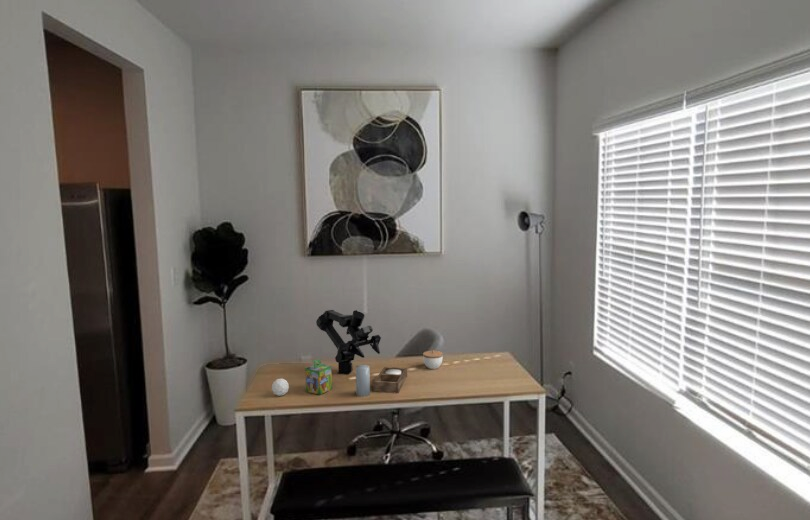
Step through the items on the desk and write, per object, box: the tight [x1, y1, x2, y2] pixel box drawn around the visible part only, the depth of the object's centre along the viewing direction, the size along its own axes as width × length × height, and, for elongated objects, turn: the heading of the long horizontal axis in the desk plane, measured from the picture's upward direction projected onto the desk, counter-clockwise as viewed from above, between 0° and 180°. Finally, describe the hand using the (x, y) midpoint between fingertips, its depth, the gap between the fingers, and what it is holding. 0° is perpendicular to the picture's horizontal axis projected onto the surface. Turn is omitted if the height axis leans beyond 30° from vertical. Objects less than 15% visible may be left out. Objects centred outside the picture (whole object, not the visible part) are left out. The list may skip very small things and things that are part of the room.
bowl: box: [386, 369, 401, 375], centre depth 240 cm, size 8×8×3 cm
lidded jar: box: [422, 349, 444, 370], centre depth 258 cm, size 11×11×9 cm
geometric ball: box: [271, 378, 290, 397], centre depth 222 cm, size 8×8×8 cm
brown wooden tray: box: [373, 366, 408, 394], centre depth 234 cm, size 12×22×5 cm, turn 169°
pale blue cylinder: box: [355, 364, 371, 398], centre depth 221 cm, size 6×6×13 cm
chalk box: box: [305, 358, 333, 396], centre depth 226 cm, size 9×9×15 cm
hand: (371, 355), depth 232 cm, fingers open, 9 cm apart
